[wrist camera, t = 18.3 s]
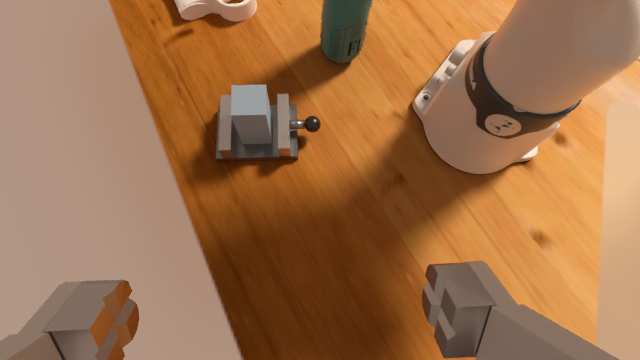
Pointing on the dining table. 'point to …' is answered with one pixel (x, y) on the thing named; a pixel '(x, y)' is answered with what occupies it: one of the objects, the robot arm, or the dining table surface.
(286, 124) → the free jaw
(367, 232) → the dining table surface
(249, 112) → the steel block
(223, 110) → the vise
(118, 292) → the robot arm
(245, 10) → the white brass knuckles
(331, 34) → the beverage bottle
